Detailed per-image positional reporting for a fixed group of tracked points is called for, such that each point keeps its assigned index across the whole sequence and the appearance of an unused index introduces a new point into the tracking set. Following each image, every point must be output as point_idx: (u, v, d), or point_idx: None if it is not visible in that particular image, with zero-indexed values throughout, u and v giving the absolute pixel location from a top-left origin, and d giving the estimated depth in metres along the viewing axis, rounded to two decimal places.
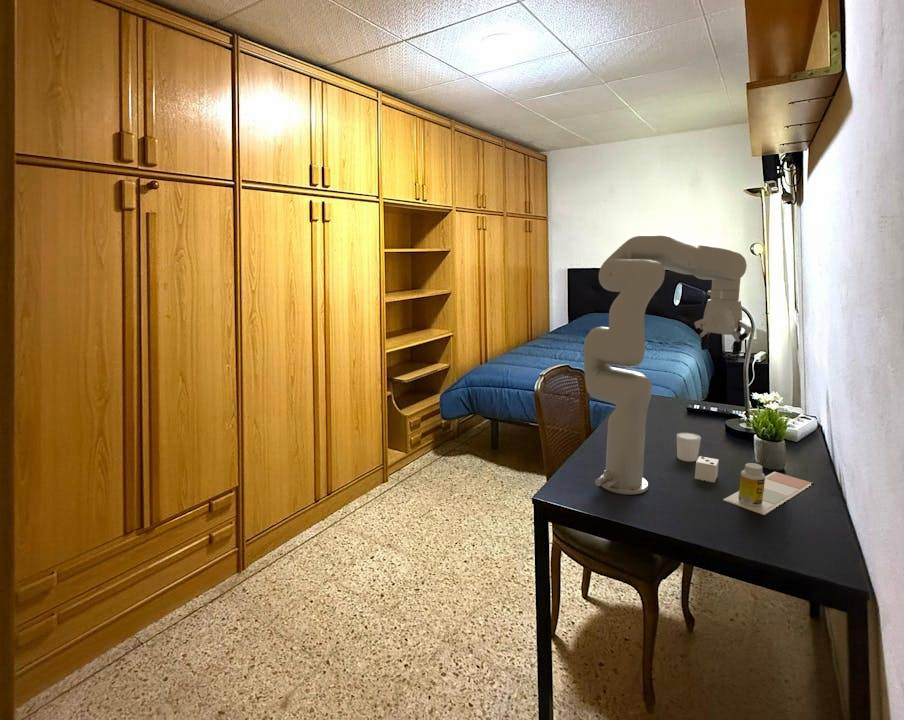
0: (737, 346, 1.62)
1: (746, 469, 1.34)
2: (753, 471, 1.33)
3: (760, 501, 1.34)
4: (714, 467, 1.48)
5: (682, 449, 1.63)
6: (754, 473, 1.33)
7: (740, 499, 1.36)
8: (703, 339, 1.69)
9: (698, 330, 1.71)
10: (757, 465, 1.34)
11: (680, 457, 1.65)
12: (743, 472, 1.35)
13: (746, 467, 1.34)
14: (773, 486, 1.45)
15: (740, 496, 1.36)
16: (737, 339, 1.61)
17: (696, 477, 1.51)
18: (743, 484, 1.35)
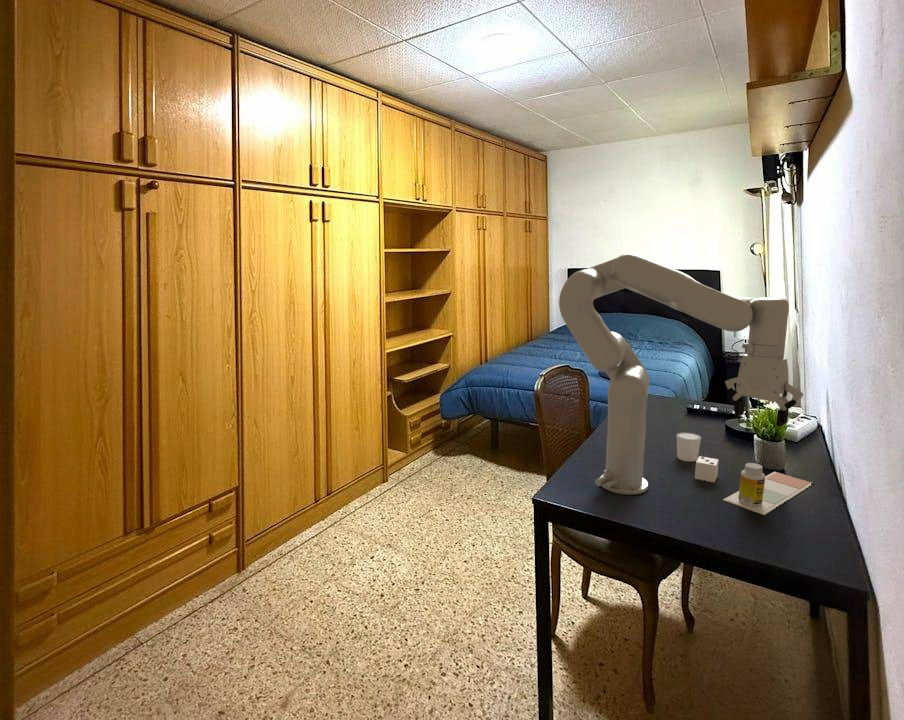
0: (782, 416, 1.27)
1: (746, 469, 1.34)
2: (753, 471, 1.33)
3: (760, 501, 1.34)
4: (714, 467, 1.48)
5: (682, 449, 1.63)
6: (754, 473, 1.33)
7: (740, 499, 1.36)
8: (737, 403, 1.34)
9: (730, 391, 1.36)
10: (757, 465, 1.34)
11: (680, 457, 1.65)
12: (743, 472, 1.35)
13: (746, 467, 1.34)
14: (773, 486, 1.45)
15: (740, 496, 1.36)
16: (783, 407, 1.26)
17: (696, 477, 1.51)
18: (743, 484, 1.35)
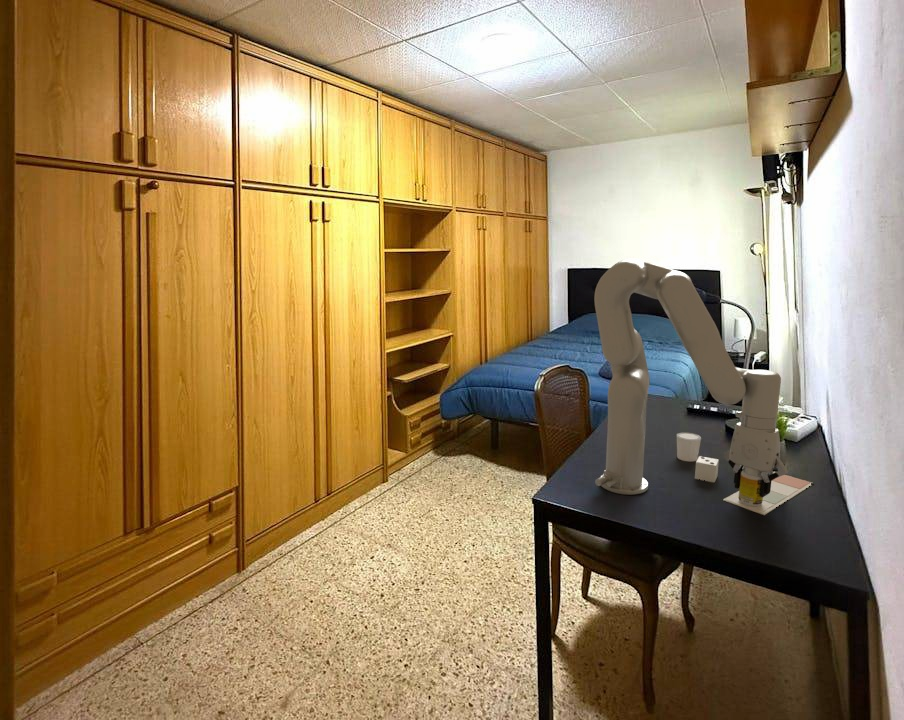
0: (765, 487, 1.32)
1: (746, 469, 1.34)
2: (754, 471, 1.33)
3: (760, 501, 1.34)
4: (714, 467, 1.48)
5: (682, 449, 1.63)
6: (754, 473, 1.33)
7: (740, 499, 1.36)
8: (737, 476, 1.36)
9: (731, 463, 1.38)
10: None
11: (680, 457, 1.65)
12: (743, 472, 1.35)
13: (746, 467, 1.34)
14: (773, 486, 1.45)
15: (740, 496, 1.36)
16: (766, 479, 1.31)
17: (696, 477, 1.51)
18: (743, 484, 1.35)
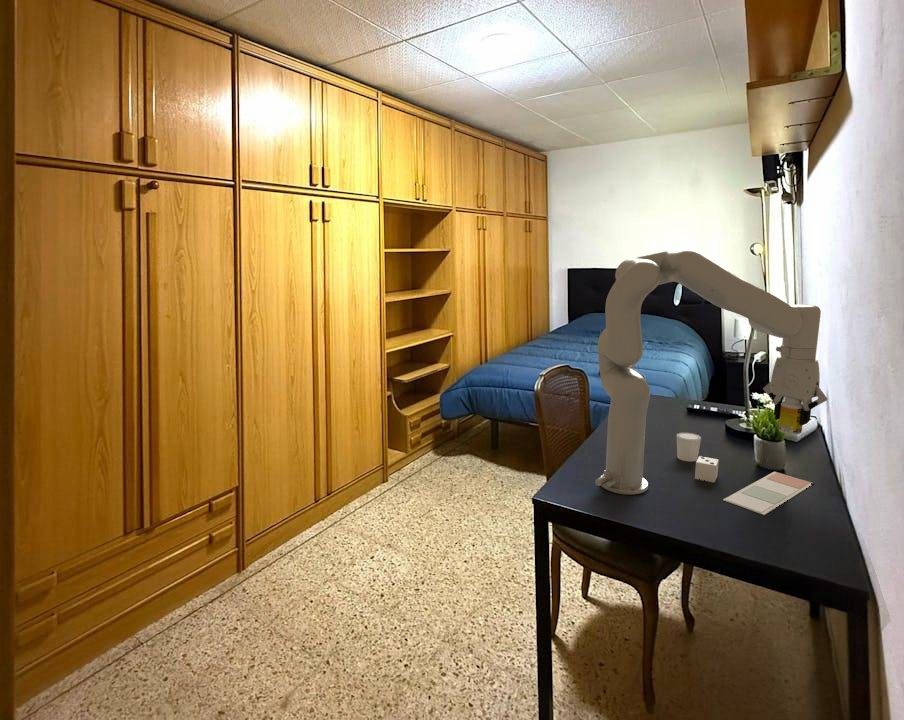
0: (805, 415, 1.40)
1: (786, 400, 1.42)
2: (794, 401, 1.41)
3: (800, 430, 1.41)
4: (714, 467, 1.48)
5: (682, 449, 1.63)
6: (794, 403, 1.41)
7: (780, 429, 1.44)
8: (777, 407, 1.44)
9: (771, 396, 1.46)
10: None
11: (680, 457, 1.65)
12: (783, 403, 1.43)
13: (786, 398, 1.42)
14: (773, 486, 1.45)
15: (780, 426, 1.44)
16: (806, 408, 1.39)
17: (696, 477, 1.51)
18: (783, 414, 1.42)
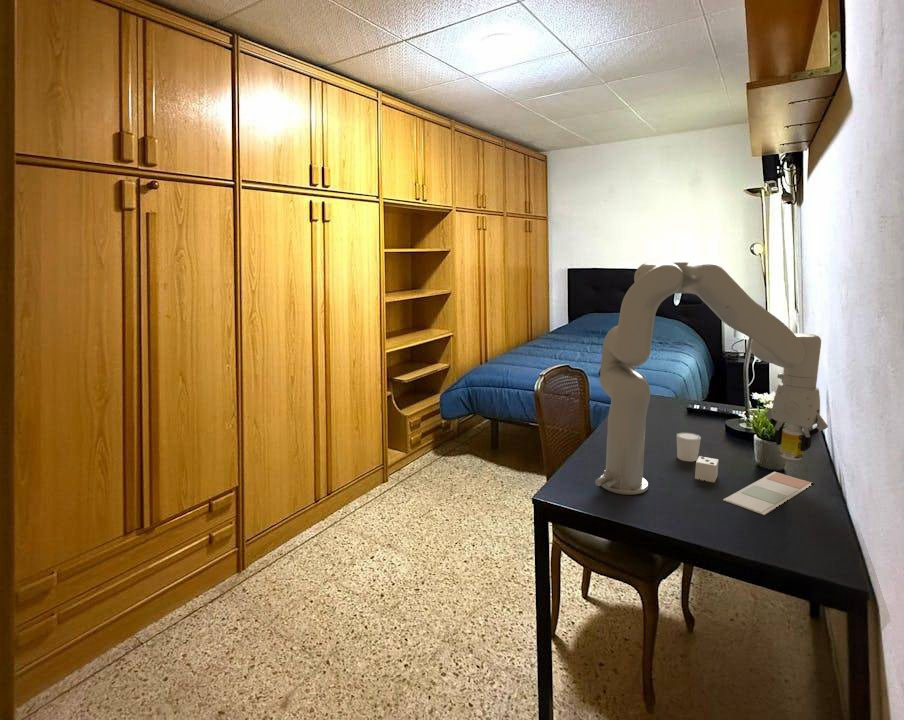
0: (806, 442, 1.43)
1: (788, 426, 1.45)
2: (795, 428, 1.44)
3: (801, 455, 1.45)
4: (714, 467, 1.48)
5: (682, 449, 1.63)
6: (795, 429, 1.44)
7: (782, 454, 1.47)
8: (779, 433, 1.47)
9: (772, 421, 1.49)
10: None
11: (680, 457, 1.65)
12: (785, 429, 1.46)
13: (788, 424, 1.45)
14: (773, 486, 1.45)
15: (782, 451, 1.47)
16: (807, 434, 1.42)
17: (696, 477, 1.51)
18: (785, 440, 1.45)
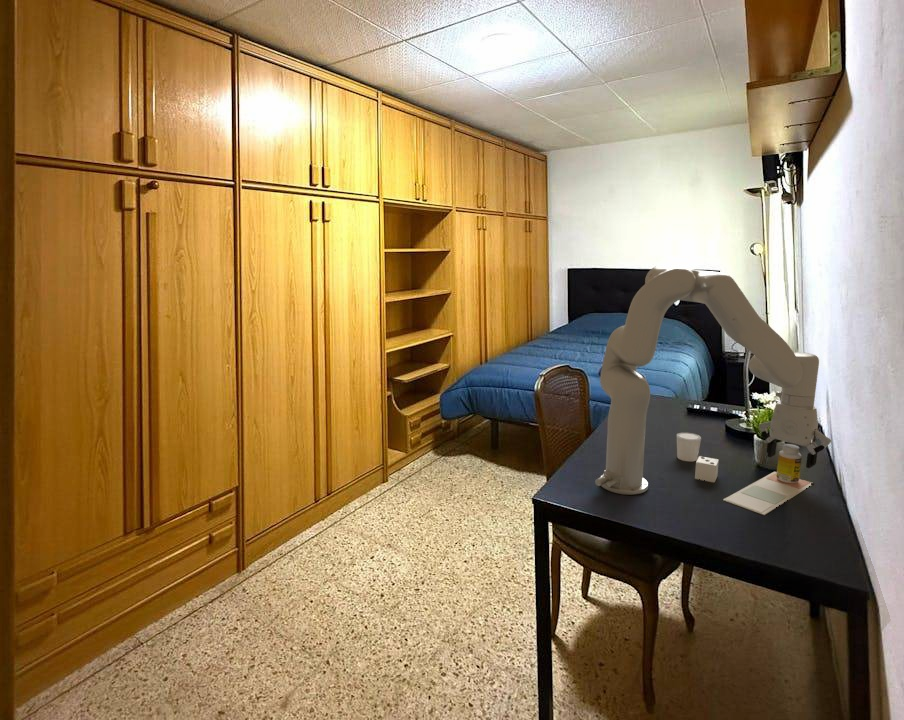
0: (812, 459, 1.42)
1: (784, 449, 1.47)
2: (791, 451, 1.45)
3: (797, 479, 1.46)
4: (714, 467, 1.48)
5: (682, 449, 1.63)
6: (792, 453, 1.45)
7: (778, 477, 1.48)
8: (770, 445, 1.50)
9: (764, 434, 1.51)
10: (794, 446, 1.47)
11: (680, 457, 1.65)
12: (781, 452, 1.47)
13: (784, 447, 1.47)
14: (773, 486, 1.45)
15: (778, 474, 1.48)
16: (812, 451, 1.42)
17: (696, 477, 1.51)
18: (781, 463, 1.47)
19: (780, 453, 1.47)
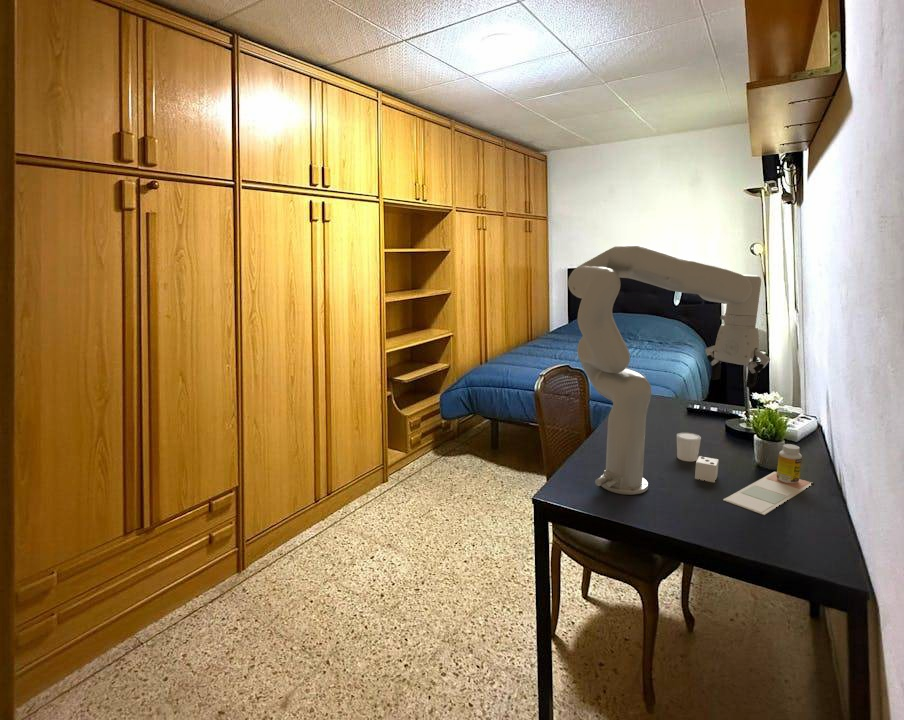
0: (752, 378, 1.45)
1: (784, 449, 1.46)
2: (791, 451, 1.45)
3: (797, 479, 1.46)
4: (714, 467, 1.48)
5: (682, 449, 1.63)
6: (792, 453, 1.45)
7: (778, 477, 1.48)
8: (714, 368, 1.53)
9: (709, 358, 1.54)
10: (794, 446, 1.47)
11: (680, 457, 1.65)
12: (781, 452, 1.47)
13: (784, 448, 1.47)
14: (773, 486, 1.45)
15: (778, 474, 1.48)
16: (752, 370, 1.44)
17: (696, 477, 1.51)
18: (781, 464, 1.47)
19: (780, 453, 1.47)
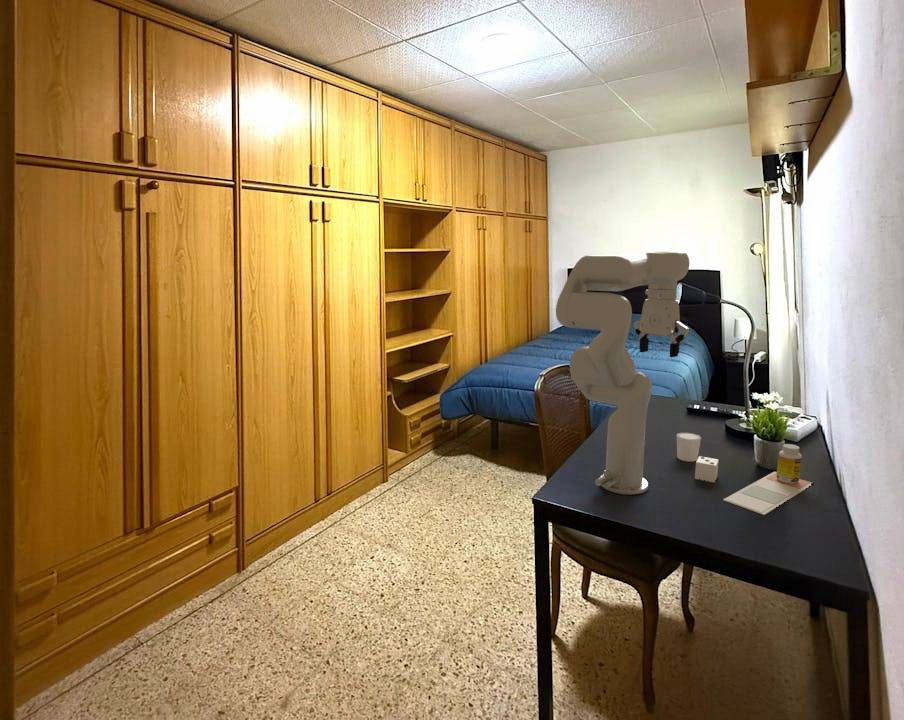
0: (674, 348, 1.54)
1: (784, 449, 1.46)
2: (791, 451, 1.45)
3: (797, 479, 1.46)
4: (714, 467, 1.48)
5: (682, 449, 1.63)
6: (792, 453, 1.45)
7: (778, 477, 1.48)
8: (641, 341, 1.61)
9: (637, 331, 1.63)
10: (794, 446, 1.47)
11: (680, 457, 1.65)
12: (781, 452, 1.47)
13: (784, 448, 1.47)
14: (773, 486, 1.45)
15: (778, 474, 1.48)
16: (674, 341, 1.53)
17: (696, 477, 1.51)
18: (781, 464, 1.47)
19: (780, 453, 1.47)
